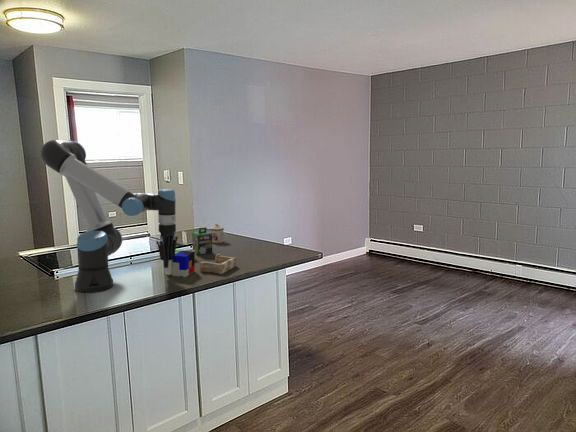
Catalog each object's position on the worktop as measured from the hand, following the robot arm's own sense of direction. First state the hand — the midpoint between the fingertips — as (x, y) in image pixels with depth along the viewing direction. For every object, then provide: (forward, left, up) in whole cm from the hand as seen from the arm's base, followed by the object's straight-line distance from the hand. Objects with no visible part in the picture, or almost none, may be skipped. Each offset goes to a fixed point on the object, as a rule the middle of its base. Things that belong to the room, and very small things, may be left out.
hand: (168, 273), depth 199 cm
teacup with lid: (+76, +17, -3) cm, 78 cm away
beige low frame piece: (+25, -5, -3) cm, 26 cm away
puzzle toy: (+10, 0, -3) cm, 10 cm away
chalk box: (+49, +12, -3) cm, 51 cm away
